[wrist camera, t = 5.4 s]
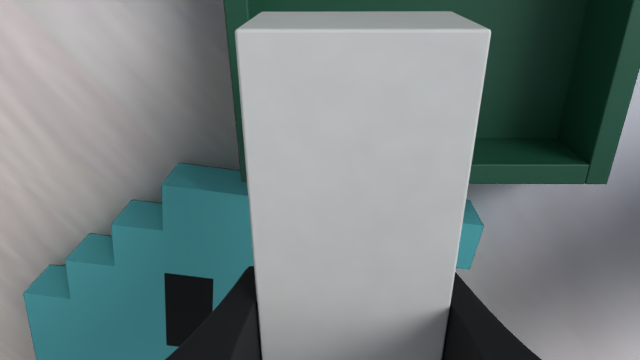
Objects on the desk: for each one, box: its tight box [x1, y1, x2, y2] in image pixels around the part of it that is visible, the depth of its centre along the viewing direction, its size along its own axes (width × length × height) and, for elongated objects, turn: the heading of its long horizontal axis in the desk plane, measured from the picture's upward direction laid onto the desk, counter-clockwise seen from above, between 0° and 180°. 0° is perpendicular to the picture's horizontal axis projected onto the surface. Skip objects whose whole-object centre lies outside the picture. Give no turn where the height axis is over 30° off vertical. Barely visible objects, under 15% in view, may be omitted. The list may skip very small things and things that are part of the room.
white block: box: [235, 11, 491, 360], centre depth 13 cm, size 4×15×3 cm, turn 0°
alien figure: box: [23, 163, 484, 360], centre depth 24 cm, size 20×2×20 cm
